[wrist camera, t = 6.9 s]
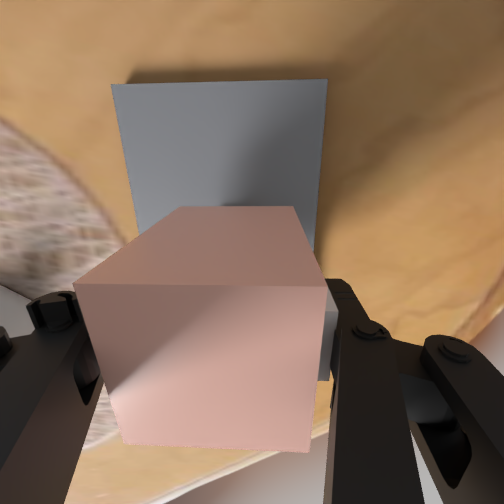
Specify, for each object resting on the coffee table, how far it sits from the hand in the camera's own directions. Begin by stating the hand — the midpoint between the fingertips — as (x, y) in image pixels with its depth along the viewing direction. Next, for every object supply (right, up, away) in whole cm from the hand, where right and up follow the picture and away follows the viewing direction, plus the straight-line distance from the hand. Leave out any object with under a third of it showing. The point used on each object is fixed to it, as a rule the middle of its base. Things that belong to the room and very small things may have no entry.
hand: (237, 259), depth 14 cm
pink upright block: (0, 0, 0) cm, 0 cm away
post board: (-1, +2, +5) cm, 5 cm away
